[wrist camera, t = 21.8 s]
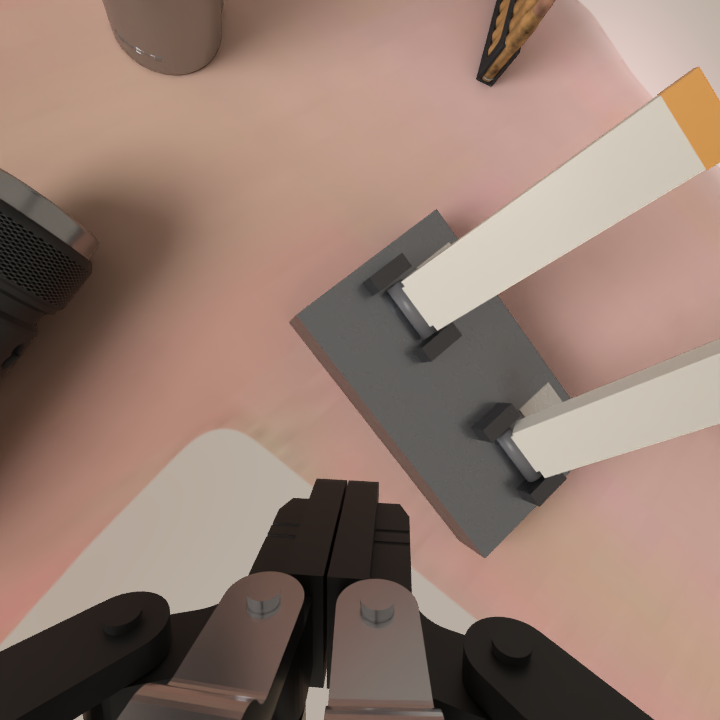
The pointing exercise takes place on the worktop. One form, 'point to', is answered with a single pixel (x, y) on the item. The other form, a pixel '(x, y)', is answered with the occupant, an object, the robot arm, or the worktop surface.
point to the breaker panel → (437, 388)
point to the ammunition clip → (509, 34)
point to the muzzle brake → (35, 263)
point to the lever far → (620, 416)
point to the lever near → (570, 204)
